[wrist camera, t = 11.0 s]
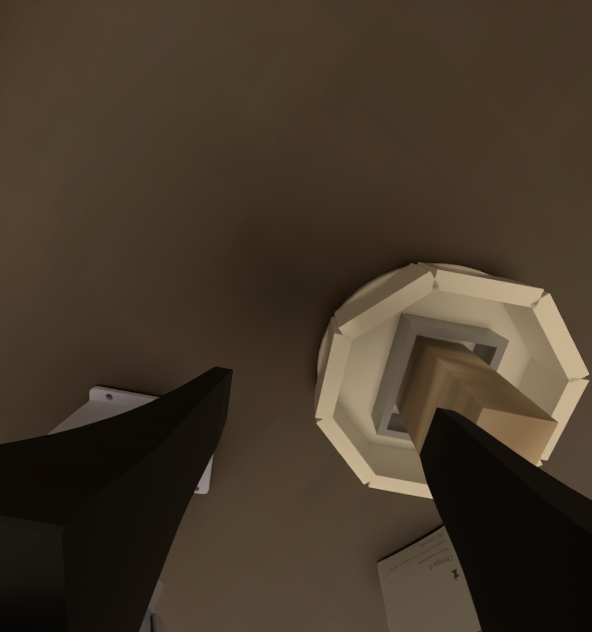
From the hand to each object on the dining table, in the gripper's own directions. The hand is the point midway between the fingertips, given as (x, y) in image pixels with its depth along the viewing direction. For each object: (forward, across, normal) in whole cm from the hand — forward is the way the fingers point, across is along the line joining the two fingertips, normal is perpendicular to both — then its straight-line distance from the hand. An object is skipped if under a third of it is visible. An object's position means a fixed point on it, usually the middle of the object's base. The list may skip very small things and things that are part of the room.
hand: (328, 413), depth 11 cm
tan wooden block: (+9, -8, +2) cm, 12 cm away
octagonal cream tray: (+10, -8, +2) cm, 13 cm away
